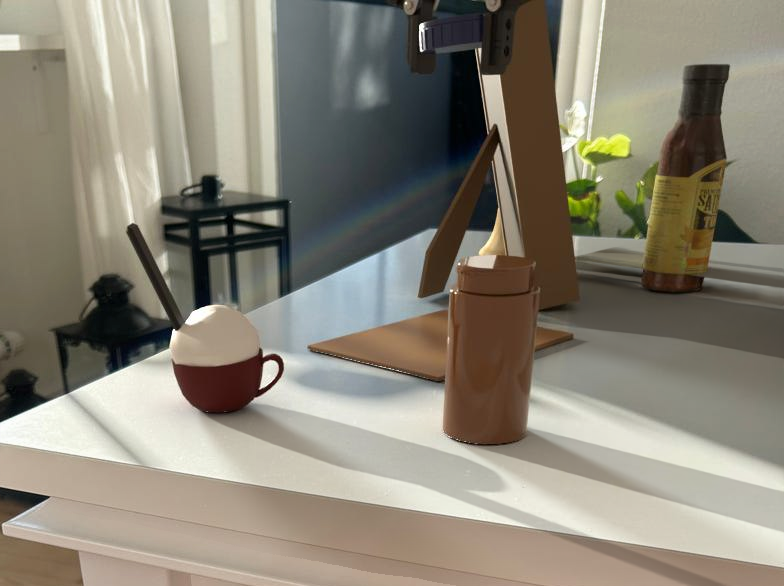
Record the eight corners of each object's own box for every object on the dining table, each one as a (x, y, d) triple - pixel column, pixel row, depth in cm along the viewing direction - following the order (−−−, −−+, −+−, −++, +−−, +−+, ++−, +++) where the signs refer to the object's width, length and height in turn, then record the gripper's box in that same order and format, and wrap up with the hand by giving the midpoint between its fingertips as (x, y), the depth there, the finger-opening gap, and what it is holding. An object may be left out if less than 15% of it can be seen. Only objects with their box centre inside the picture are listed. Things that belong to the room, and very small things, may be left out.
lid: (517, 38, 72) (517, 9, 71) (439, 45, 71) (438, 16, 70) (480, 49, 77) (480, 22, 77) (407, 56, 76) (406, 29, 75)
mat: (444, 313, 96) (444, 309, 95) (573, 338, 87) (574, 333, 87) (307, 350, 85) (307, 345, 85) (438, 382, 76) (438, 377, 76)
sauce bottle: (695, 297, 100) (734, 64, 90) (631, 291, 103) (663, 64, 93) (710, 285, 105) (750, 62, 95) (649, 279, 108) (681, 63, 98)
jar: (438, 418, 69) (447, 254, 63) (519, 418, 69) (534, 253, 63) (446, 445, 64) (456, 270, 59) (533, 445, 64) (550, 269, 59)
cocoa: (295, 402, 72) (291, 221, 66) (246, 428, 68) (237, 235, 62) (186, 385, 77) (173, 213, 71) (134, 407, 72) (115, 226, 66)
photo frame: (545, 267, 114) (571, 5, 102) (578, 311, 95) (614, -5, 83) (412, 268, 115) (421, 8, 103) (419, 311, 96) (431, -1, 84)
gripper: (352, -210, 69) (350, 75, 77) (531, -251, 60) (507, 76, 68) (424, -196, 73) (415, 72, 82) (600, -232, 64) (569, 73, 73)
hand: (457, 73), depth 75 cm, fingers closed on lid, 6 cm apart
